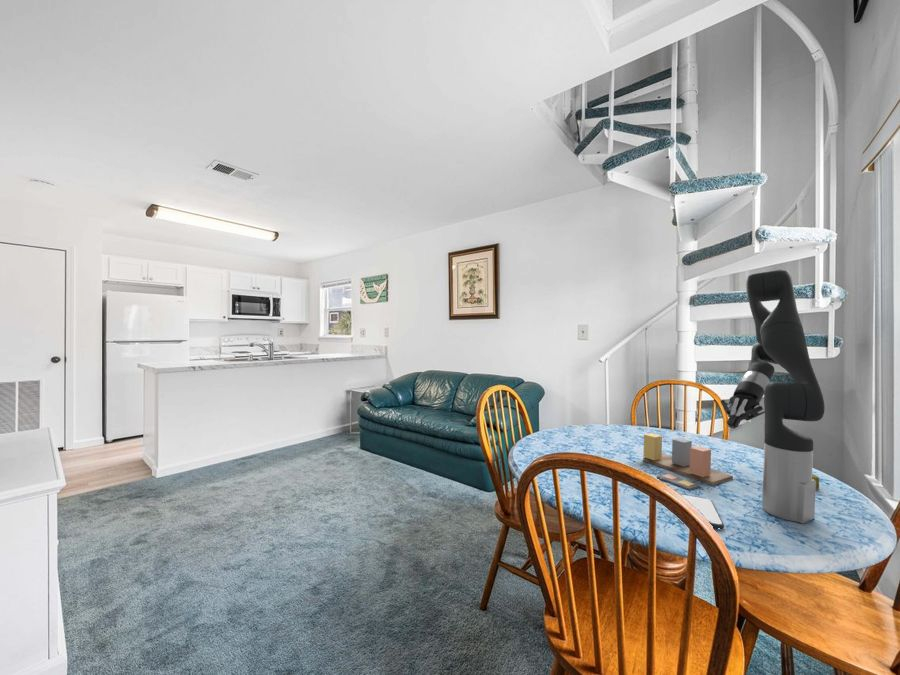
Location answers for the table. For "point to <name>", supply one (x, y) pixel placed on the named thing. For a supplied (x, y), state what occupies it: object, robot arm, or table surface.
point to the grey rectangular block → (681, 451)
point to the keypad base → (667, 463)
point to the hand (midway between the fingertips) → (731, 426)
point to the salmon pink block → (700, 461)
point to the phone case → (706, 510)
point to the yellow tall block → (652, 446)
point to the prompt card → (678, 481)
